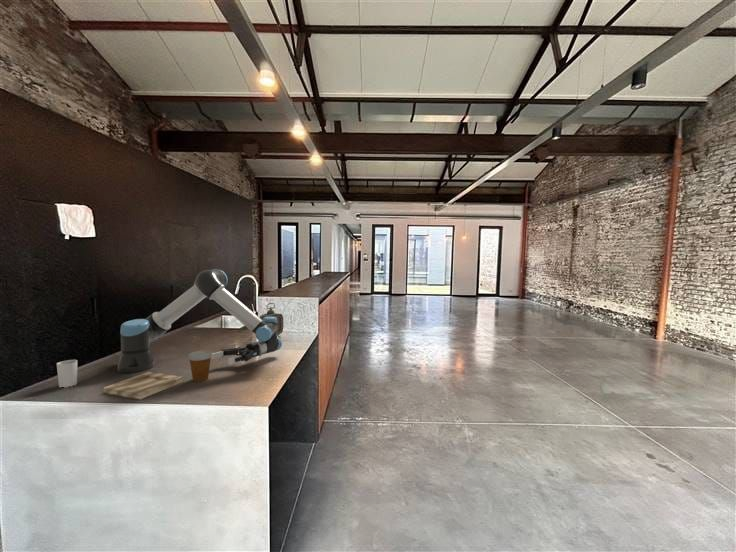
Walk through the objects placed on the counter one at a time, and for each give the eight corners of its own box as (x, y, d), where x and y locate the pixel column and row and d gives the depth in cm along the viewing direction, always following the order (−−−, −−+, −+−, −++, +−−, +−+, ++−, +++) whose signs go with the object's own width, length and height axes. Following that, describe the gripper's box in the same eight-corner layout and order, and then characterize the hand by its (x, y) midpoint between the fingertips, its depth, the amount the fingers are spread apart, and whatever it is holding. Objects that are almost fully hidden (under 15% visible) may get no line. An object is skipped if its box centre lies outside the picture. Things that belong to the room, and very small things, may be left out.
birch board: (103, 392, 138) (103, 387, 138) (149, 376, 157) (148, 371, 157) (140, 399, 132) (140, 393, 131) (183, 381, 151) (182, 376, 150)
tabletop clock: (266, 343, 220) (266, 304, 218) (257, 341, 224) (257, 303, 223) (283, 338, 232) (283, 302, 230) (274, 336, 237) (274, 301, 235)
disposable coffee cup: (202, 383, 148) (202, 356, 148) (183, 382, 150) (183, 355, 149) (216, 376, 157) (216, 350, 157) (198, 374, 159) (198, 349, 159)
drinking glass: (67, 382, 149) (66, 359, 149) (82, 382, 149) (81, 359, 148) (53, 387, 142) (52, 364, 142) (68, 388, 142) (67, 364, 142)
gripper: (272, 360, 172) (235, 371, 155) (240, 352, 186) (204, 362, 168) (272, 345, 172) (235, 355, 154) (240, 339, 185) (203, 347, 168)
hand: (219, 359), depth 161 cm, fingers open, 13 cm apart
